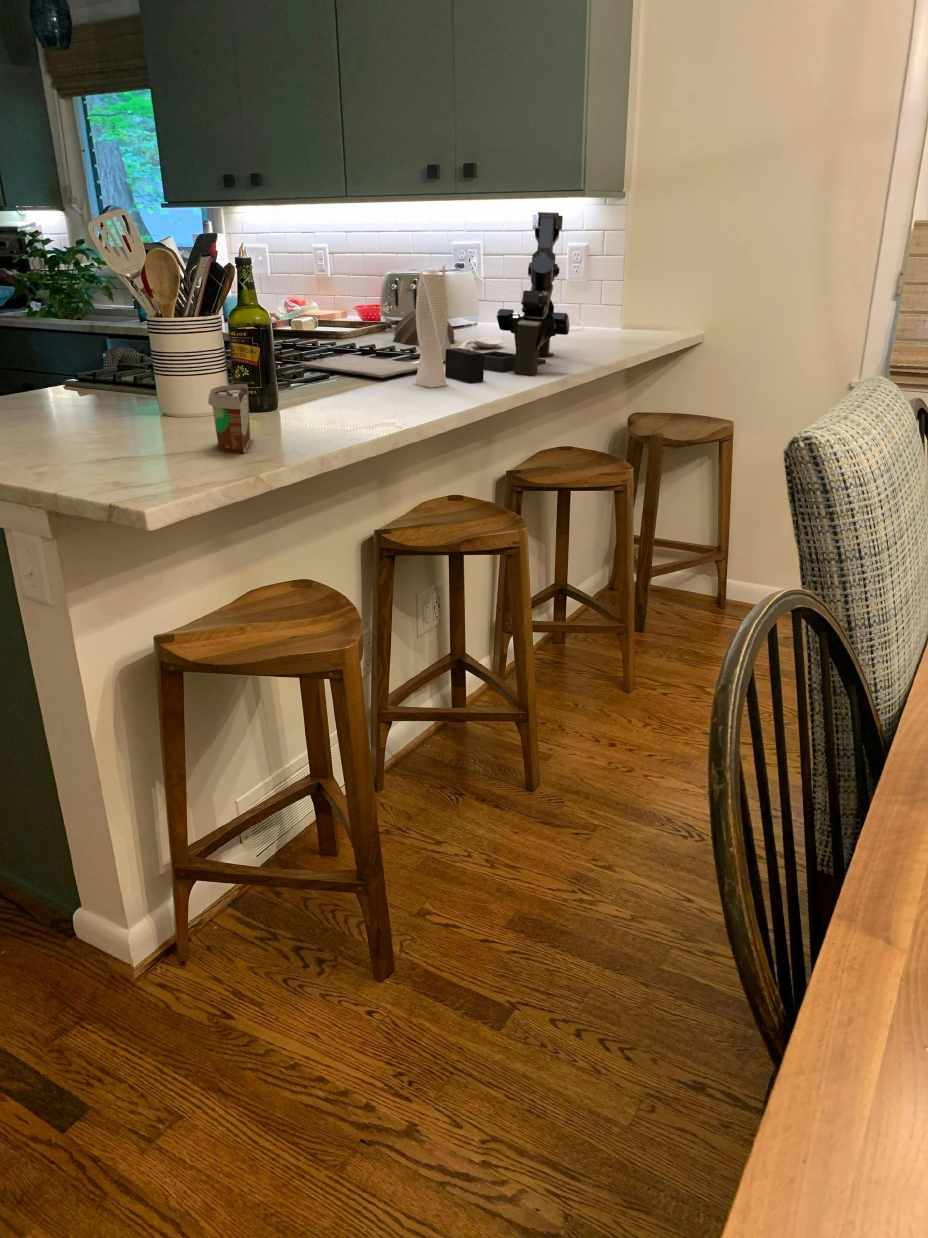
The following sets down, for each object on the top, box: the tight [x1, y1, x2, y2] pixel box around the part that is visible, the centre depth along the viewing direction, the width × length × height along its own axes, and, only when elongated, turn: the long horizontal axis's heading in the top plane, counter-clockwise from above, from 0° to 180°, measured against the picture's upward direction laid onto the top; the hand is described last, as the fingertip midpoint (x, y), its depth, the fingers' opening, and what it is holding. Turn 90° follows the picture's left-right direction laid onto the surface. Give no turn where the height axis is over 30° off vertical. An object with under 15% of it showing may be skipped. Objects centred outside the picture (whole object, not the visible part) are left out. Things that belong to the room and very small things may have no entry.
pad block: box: [513, 320, 542, 377], centre depth 243 cm, size 5×5×13 cm
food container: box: [207, 383, 251, 454], centre depth 164 cm, size 12×6×10 cm, turn 5°
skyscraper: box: [415, 262, 449, 389], centre depth 221 cm, size 8×8×28 cm
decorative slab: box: [299, 354, 419, 379], centre depth 242 cm, size 27×21×2 cm
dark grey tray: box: [483, 350, 547, 373], centre depth 258 cm, size 22×16×4 cm
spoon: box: [457, 336, 504, 349], centre depth 278 cm, size 9×32×4 cm, turn 153°
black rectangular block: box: [444, 347, 485, 384], centre depth 234 cm, size 10×5×7 cm, turn 39°
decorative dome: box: [393, 309, 455, 346], centre depth 293 cm, size 19×20×10 cm
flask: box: [441, 323, 452, 363], centre depth 259 cm, size 7×7×10 cm
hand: (526, 347), depth 242 cm, fingers closed on pad block, 5 cm apart
